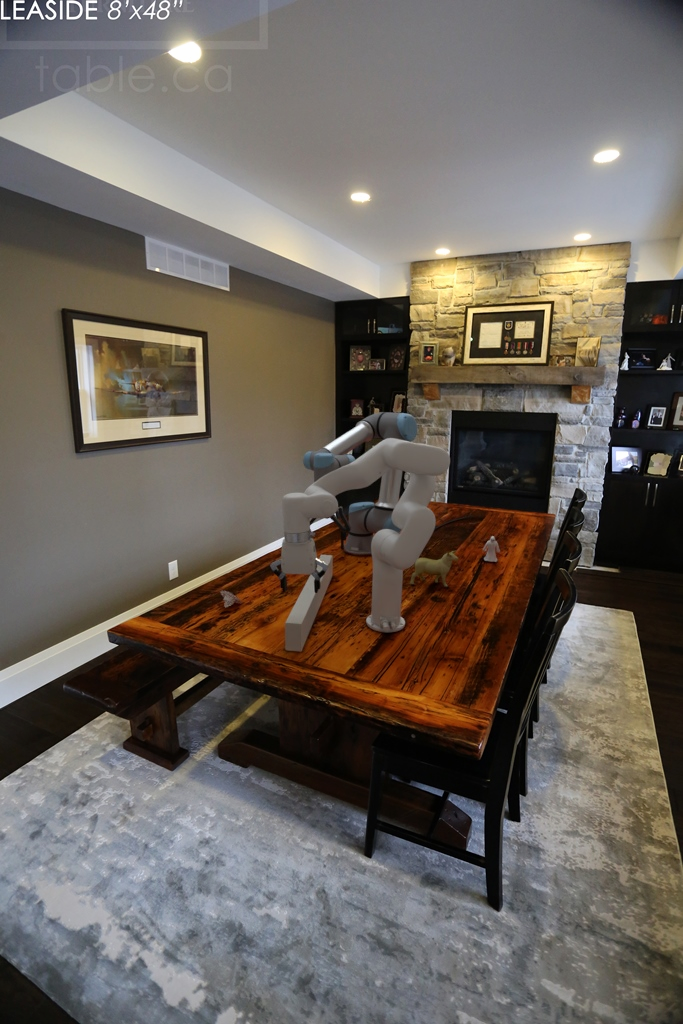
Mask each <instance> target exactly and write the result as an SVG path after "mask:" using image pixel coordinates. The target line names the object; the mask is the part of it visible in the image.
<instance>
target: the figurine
mask: <svg viewBox="0 0 683 1024" xmlns="http://www.w3.org/2000/svg"><path fill="white" fill-rule="evenodd" d="M482 551H483V552H486V554H485V556H484V557H483V560H484V561H485V562H495V563H498V558H497V554H496V553H498V554H499V553H501V550H500V547H499V543H498V541H497V540H496V538H495V536H493V535H492V536H490V539H489V540H487V542H486V543H485V544H484V546H483V548H482Z"/></svg>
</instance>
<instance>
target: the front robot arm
mask: <svg viewBox="0 0 683 1024" xmlns="http://www.w3.org/2000/svg"><path fill="white" fill-rule="evenodd" d="M450 465H451V457H450V454H449V452H448V450H446V449H444V448H443V447H439V446H435V445H430V444H426V443H416V442H413V441H411V442H408V441H404V440H400V439H395V438H387V439H385V440H383V439H382V440H381V441H380V442H378V443H376V444H375V445H374V446H372V447H371V448H370V449H368V450H367V451H365V452H364V453H363V454H362V455H360V456H359V457H357V458H355V461H353V462H352V463H350V464H348V465H345V466H343V467H341V468H339V469H337V470H334V471H332V472H330V473H328V474H326V475H324V476H323V477H321V478H320V479H318V480H317V481H316V482H314V481H313V483H312V484H310V485H309V486H308V487H307V488H306V489H305V490H304V492H289V493H286V494H284V495H283V496H282V497H281V504H282V505H281V506H282V507H281V508H282V522H283V523H282V524H283V537H284V539H282V542H281V543H282V544H281V552H280V553H281V554H280V558H279V559H277V560H274V561H273V562H271V563H270V565H269V567H270V568H271V571H272V572H273V574H274V575H275V576H276V577H277V578H278V579H279V583H280V589H282V591H281V592H282V593H286V591H287V589H288V577H287V575H312V576H313V577H314V578H315V580H314V591H315V593H317V592H318V590H319V589H320V578H321V577H322V576H323V575H324V574H325V572H326V570H327V568H328V566H329V564H327V563H325V562H323V561H321V560H319V558H318V554H317V548H316V543H315V540H314V537H316V531H312V529H311V525H310V520H311V519H312V518H317V519H321V518H322V519H326V518H328V517H331V516H332V515H334V514H335V515H336V513H337V509H338V507H339V501H338V500H337V498H336V496H337V495H339V494H342V493H344V492H346V491H351V490H359V489H364V488H367V487H369V486H371V485H372V484H373V483H374V482H376V481H377V480H378V479H380V478H382V476H383V475H384V474H385V473H387V472H388V471H390V470H391V469H392V468H395V469H398V470H402V472H407V473H409V480H408V483H407V486H406V488H405V490H404V491H403V493H402V495H401V496H400V497H399V500H398V503H397V505H396V507H395V508H394V510H393V512H392V517H391V519H392V522H393V523H394V525H395V526H397V527H398V528H399V529H401V532H400V533H398V532H396V531H394V530H391V529H382V530H380V531H378V532H377V533H376V534H375V533H374V534H373V536H374V537H373V539H372V543H371V552H372V555H371V558H372V560H371V561H372V585H371V586H372V587H371V607H370V609H371V613H370V615H368V616H367V617H366V621H365V622H366V623H365V624H366V625H367V627H368V628H369V629H372V630H373V631H376V632H379V633H396V632H398V631H402V630H403V629H404V628H405V626H406V620H405V618H403V617H402V615H401V614H402V599H403V598H402V597H403V580H404V570H407V569H410V568H411V567H412V566H414V563H415V562H416V561H417V559H418V558H420V556H421V554H422V553H423V551H424V549H425V547H426V545H428V542H429V541H430V539H431V537H432V536H433V534H434V531H435V530H436V529H435V528H436V522H437V521H436V516H435V513H434V511H432V509H431V508H429V507H428V506H429V504H430V502H431V500H432V499H433V497H434V494H435V491H436V485H437V482H436V477H439V476H441V475H443V474H444V473H445V472H447V471H448V469H449V468H450ZM328 519H329V518H328ZM434 529H435V530H434ZM318 565H319V566H321V567H322V568H323V569H322V570H321V571H320V572H319V571H318V570H317V569H316V568H317V566H318ZM278 566H280V567H281V568H280V569H281V570H280V569H279V567H278Z"/></svg>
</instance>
